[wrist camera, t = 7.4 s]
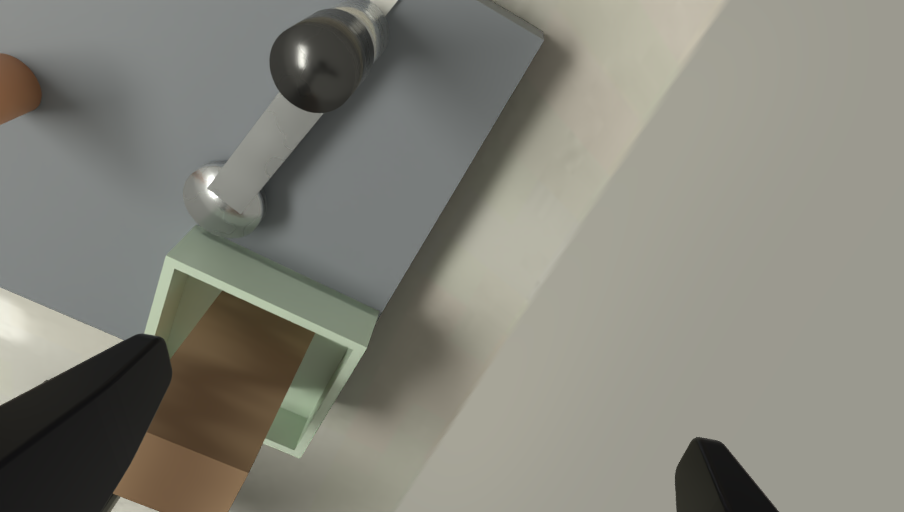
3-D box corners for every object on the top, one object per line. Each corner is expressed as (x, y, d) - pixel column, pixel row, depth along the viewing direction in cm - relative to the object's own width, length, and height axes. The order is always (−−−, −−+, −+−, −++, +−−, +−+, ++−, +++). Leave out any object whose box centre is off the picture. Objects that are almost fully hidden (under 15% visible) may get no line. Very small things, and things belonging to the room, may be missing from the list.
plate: (323, 403, 28) (287, 496, 24) (-15, 256, 26) (-126, 331, 21) (543, 31, 18) (548, 77, 14) (11, -286, 15) (-196, -355, 11)
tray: (315, 420, 27) (299, 458, 26) (157, 352, 26) (128, 387, 24) (379, 311, 23) (367, 347, 21) (196, 224, 22) (165, 255, 20)
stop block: (317, 328, 24) (248, 473, 18) (287, 386, 26) (216, 533, 20) (225, 285, 23) (121, 422, 17) (202, 348, 25) (102, 489, 19)
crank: (242, 243, 22) (179, 321, 18) (177, 195, 21) (96, 267, 17) (418, 37, 17) (385, 81, 13) (344, -35, 16) (285, -10, 12)
